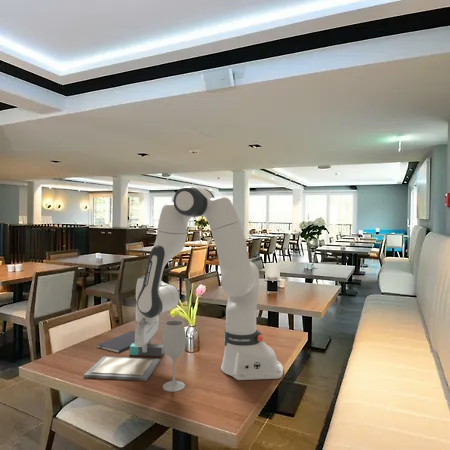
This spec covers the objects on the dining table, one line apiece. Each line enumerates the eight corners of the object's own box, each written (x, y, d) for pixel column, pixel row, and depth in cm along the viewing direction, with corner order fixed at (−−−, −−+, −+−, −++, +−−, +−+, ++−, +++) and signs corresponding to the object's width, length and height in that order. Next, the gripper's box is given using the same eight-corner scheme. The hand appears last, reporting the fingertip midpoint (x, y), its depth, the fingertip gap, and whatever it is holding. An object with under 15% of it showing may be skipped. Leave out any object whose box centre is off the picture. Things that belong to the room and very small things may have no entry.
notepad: (159, 361, 139) (159, 358, 139) (146, 380, 124) (146, 376, 124) (103, 359, 141) (103, 355, 141) (83, 377, 125) (83, 373, 125)
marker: (163, 352, 148) (163, 344, 148) (161, 356, 145) (161, 347, 145) (132, 351, 149) (132, 343, 149) (129, 354, 146) (129, 346, 146)
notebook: (119, 354, 148) (153, 338, 167) (119, 350, 148) (153, 335, 166) (96, 348, 154) (131, 333, 172) (96, 344, 154) (131, 330, 172)
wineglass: (157, 386, 120) (157, 322, 119) (176, 379, 125) (176, 318, 124) (171, 394, 114) (171, 327, 114) (190, 386, 120) (190, 323, 119)
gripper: (146, 323, 136) (146, 360, 136) (161, 309, 156) (161, 341, 157) (130, 322, 136) (130, 359, 137) (146, 308, 157) (146, 340, 157)
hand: (146, 349), depth 147 cm, fingers closed on marker, 3 cm apart
